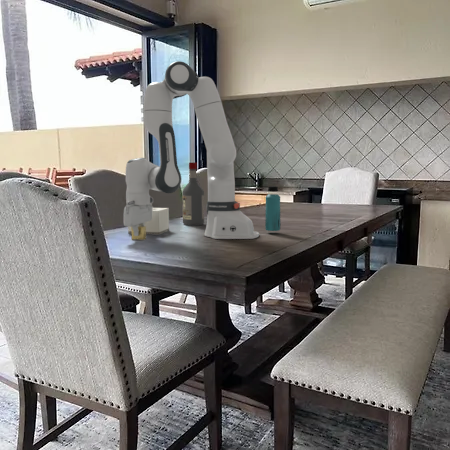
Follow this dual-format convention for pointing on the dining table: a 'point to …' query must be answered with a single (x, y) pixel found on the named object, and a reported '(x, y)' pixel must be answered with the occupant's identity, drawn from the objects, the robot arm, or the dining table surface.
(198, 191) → the liquor
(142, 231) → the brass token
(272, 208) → the beverage bottle
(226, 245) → the dining table surface
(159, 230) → the money box
